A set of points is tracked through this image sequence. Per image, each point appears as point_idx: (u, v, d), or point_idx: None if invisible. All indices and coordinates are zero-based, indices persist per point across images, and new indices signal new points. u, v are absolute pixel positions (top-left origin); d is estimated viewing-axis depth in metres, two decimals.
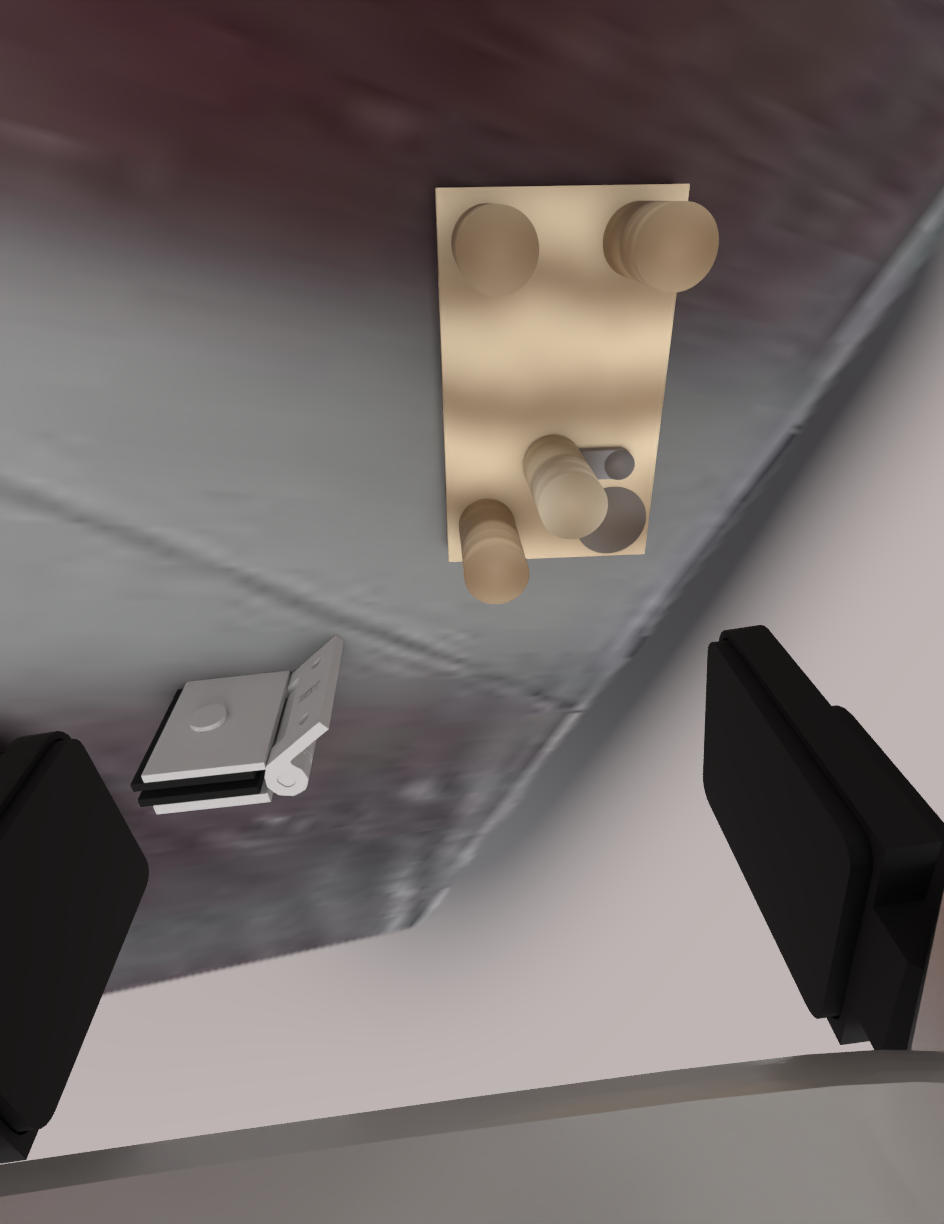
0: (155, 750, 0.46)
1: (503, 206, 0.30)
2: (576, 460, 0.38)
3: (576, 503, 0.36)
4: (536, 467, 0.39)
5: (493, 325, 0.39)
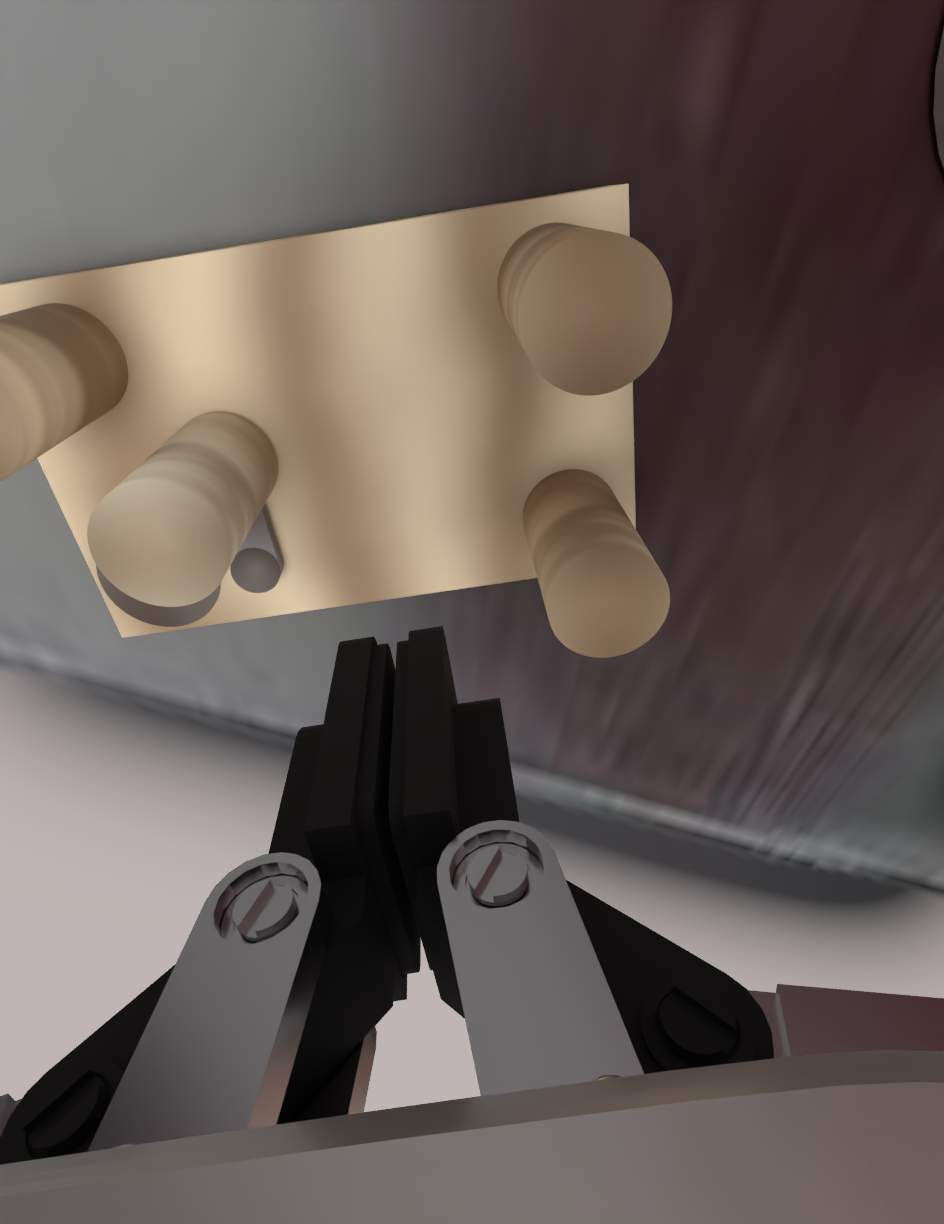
0: None
1: (668, 316, 0.17)
2: (248, 520, 0.21)
3: (169, 551, 0.19)
4: (213, 448, 0.21)
5: (431, 319, 0.23)
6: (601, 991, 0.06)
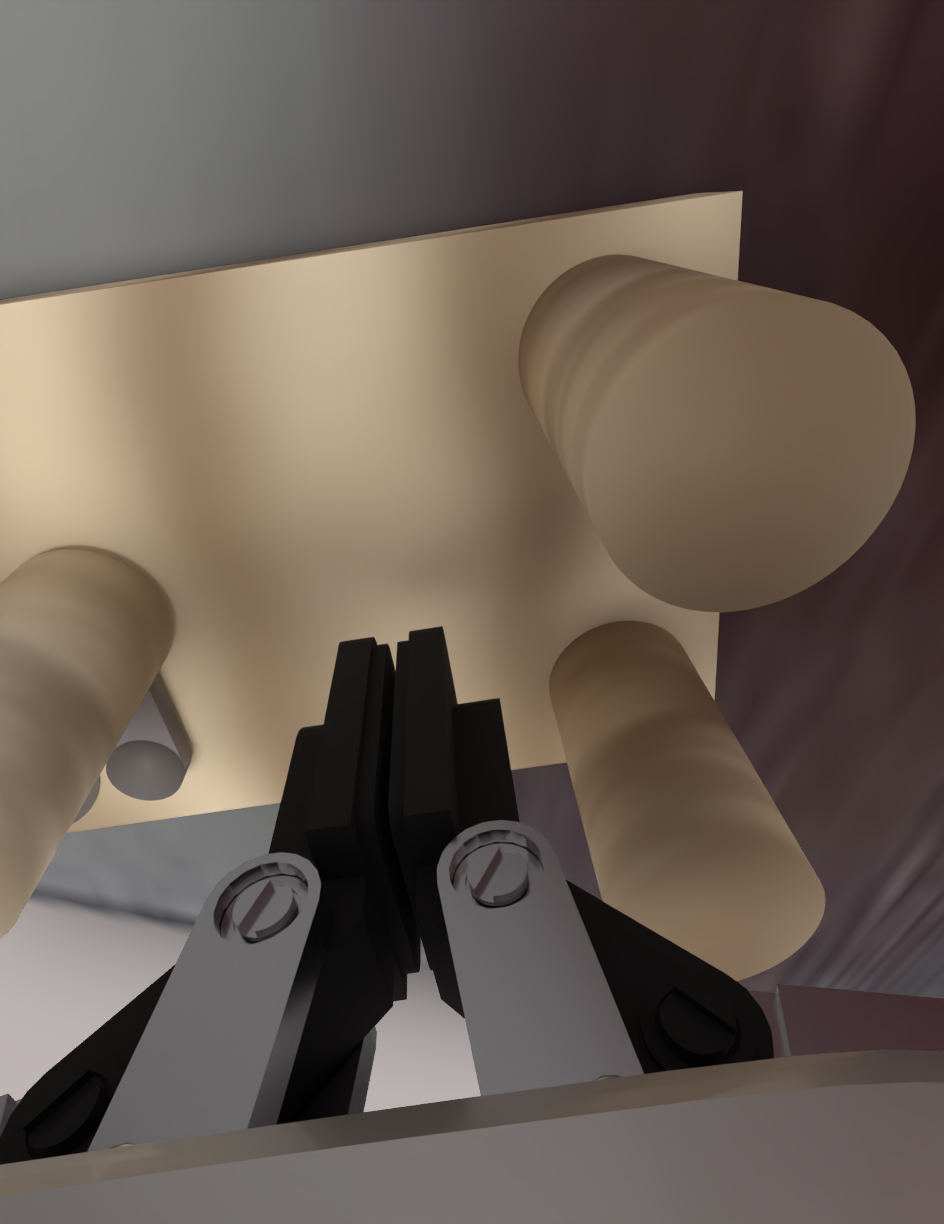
0: None
1: (902, 468, 0.08)
2: (91, 766, 0.12)
3: None
4: (31, 642, 0.12)
5: (411, 408, 0.14)
6: (601, 991, 0.06)
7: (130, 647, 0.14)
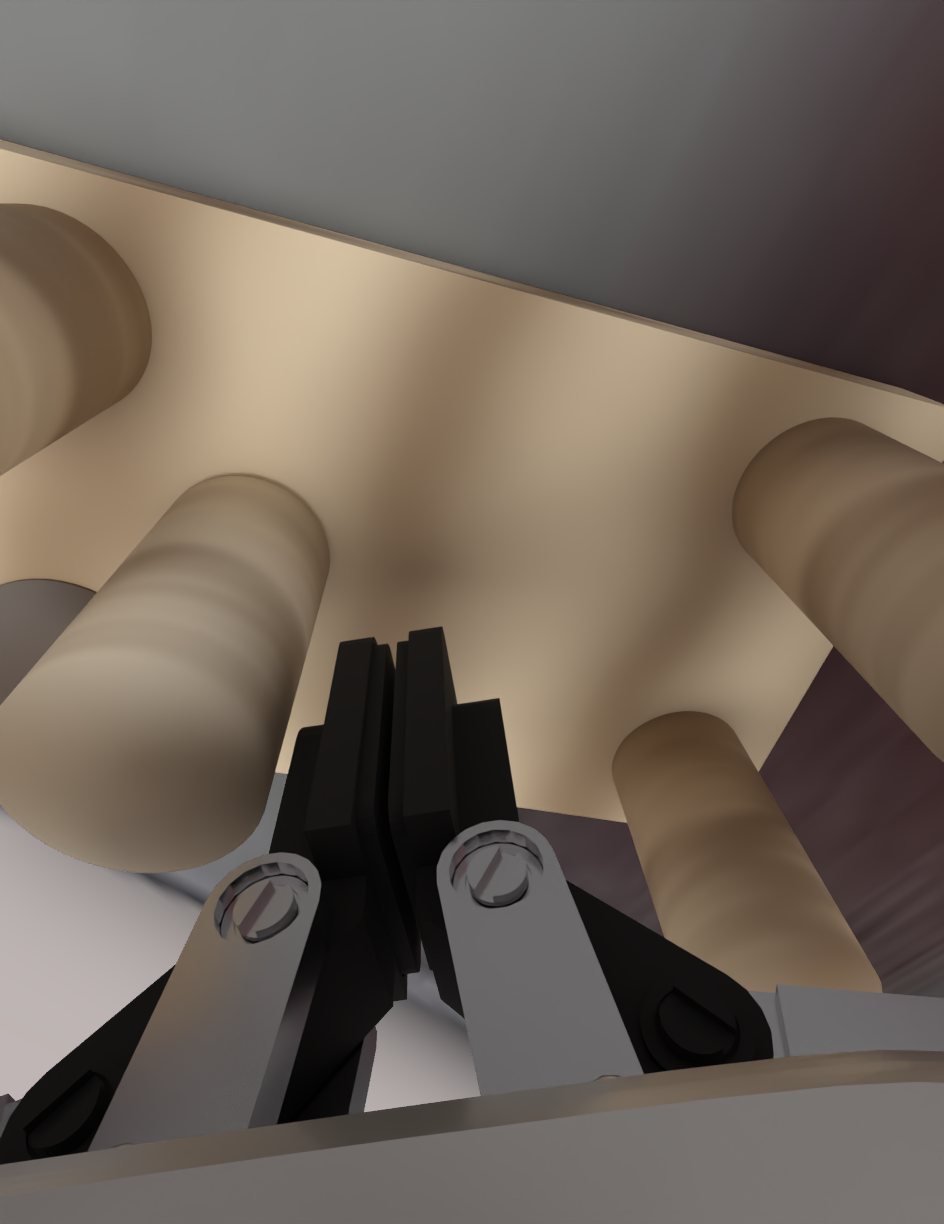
0: None
1: None
2: None
3: (149, 790, 0.09)
4: (270, 575, 0.12)
5: (638, 476, 0.15)
6: (601, 991, 0.06)
7: (317, 602, 0.14)
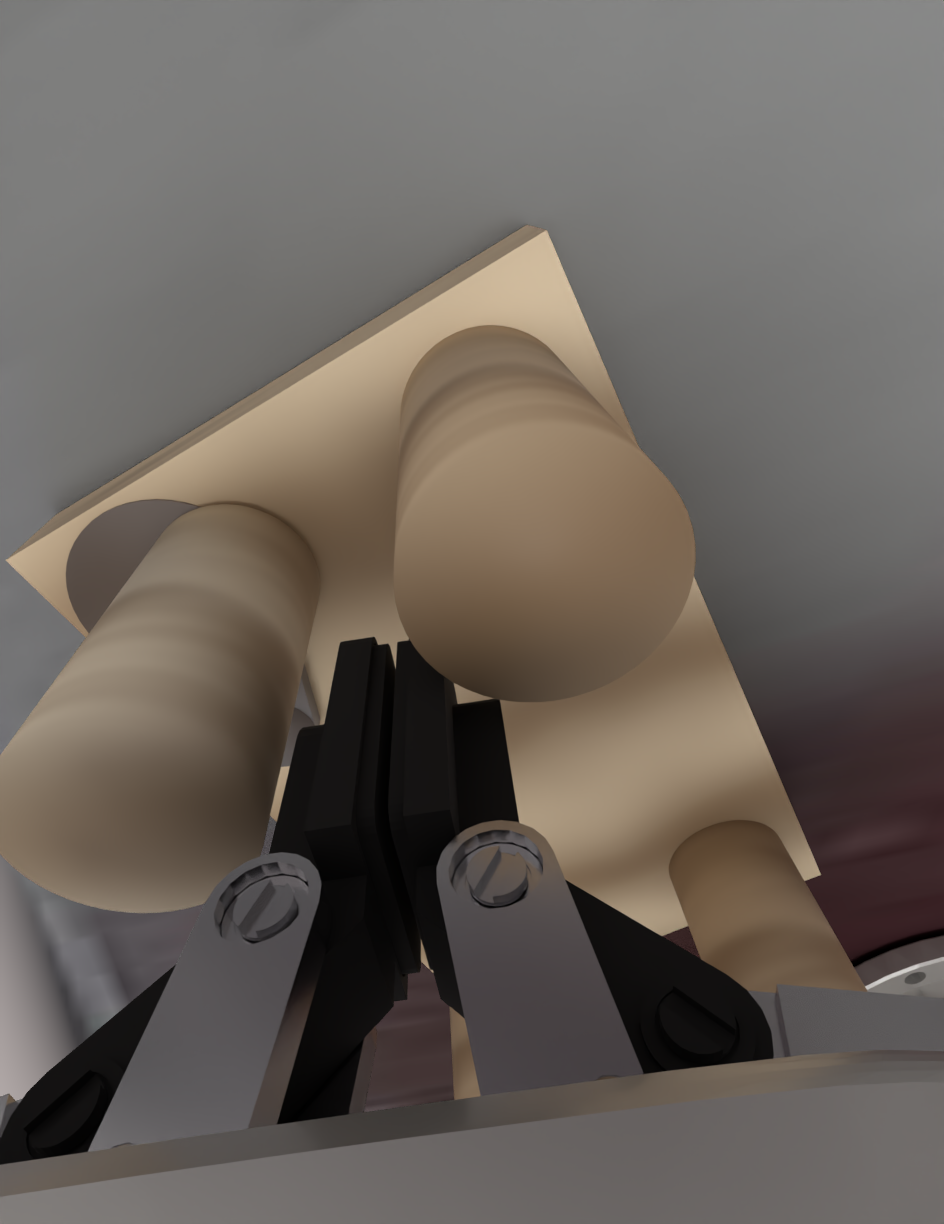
0: None
1: None
2: (290, 720, 0.12)
3: (149, 831, 0.09)
4: (228, 592, 0.12)
5: (668, 787, 0.20)
6: (601, 991, 0.06)
7: (301, 603, 0.14)
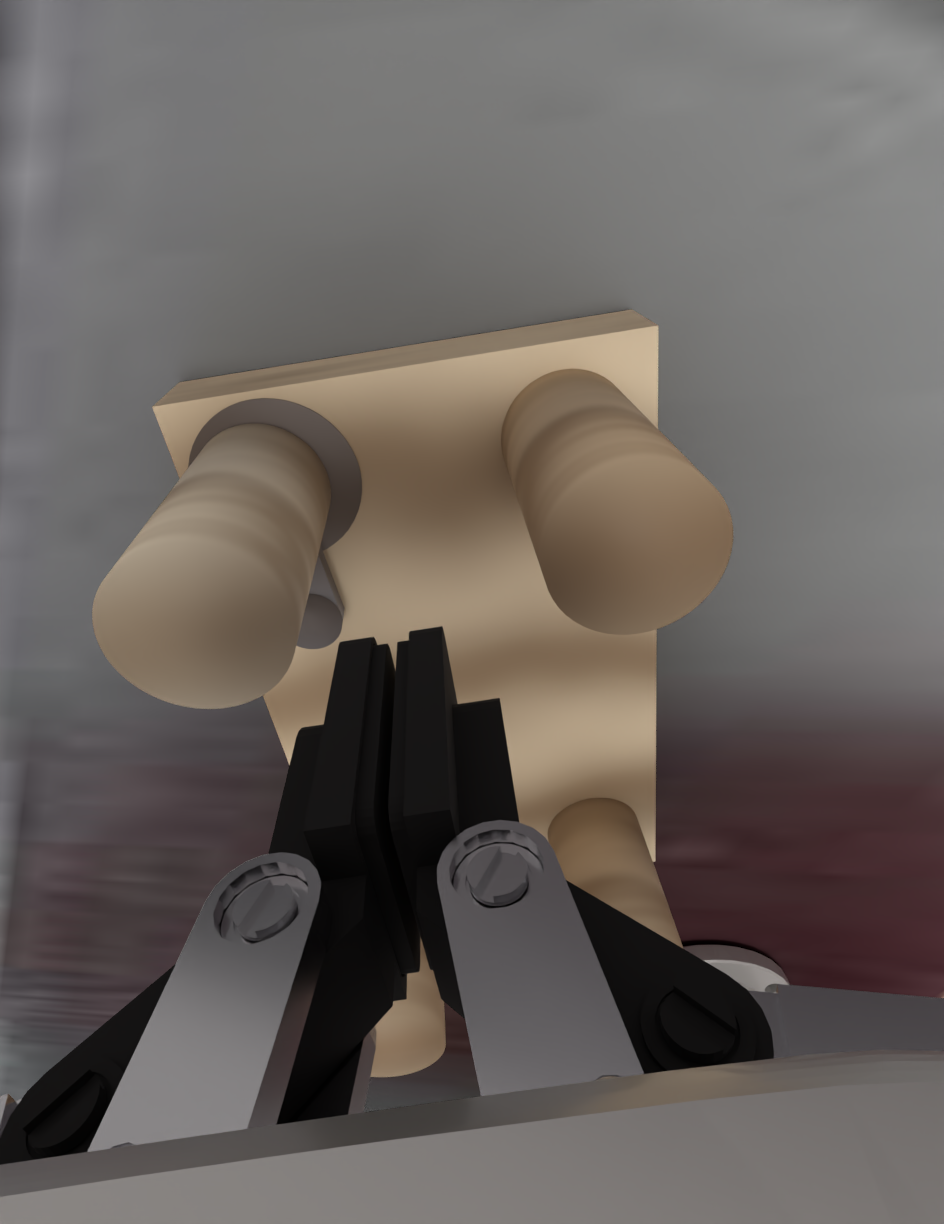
0: None
1: None
2: (311, 571, 0.15)
3: (212, 635, 0.13)
4: (254, 476, 0.15)
5: (576, 757, 0.25)
6: (601, 991, 0.06)
7: (314, 492, 0.17)
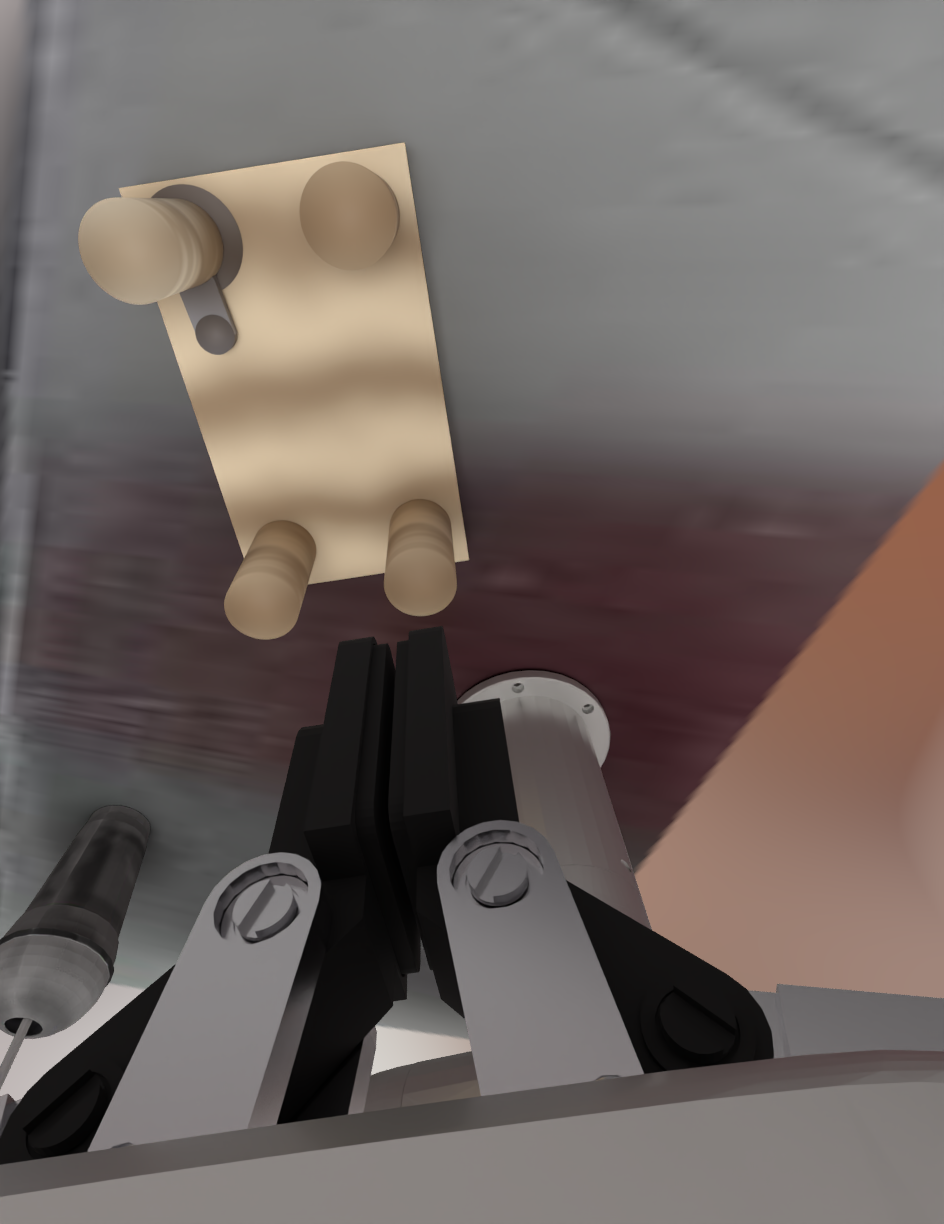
0: None
1: (422, 614, 0.36)
2: (196, 252, 0.29)
3: (136, 254, 0.26)
4: (166, 201, 0.29)
5: (400, 462, 0.39)
6: (602, 991, 0.06)
7: (205, 228, 0.30)
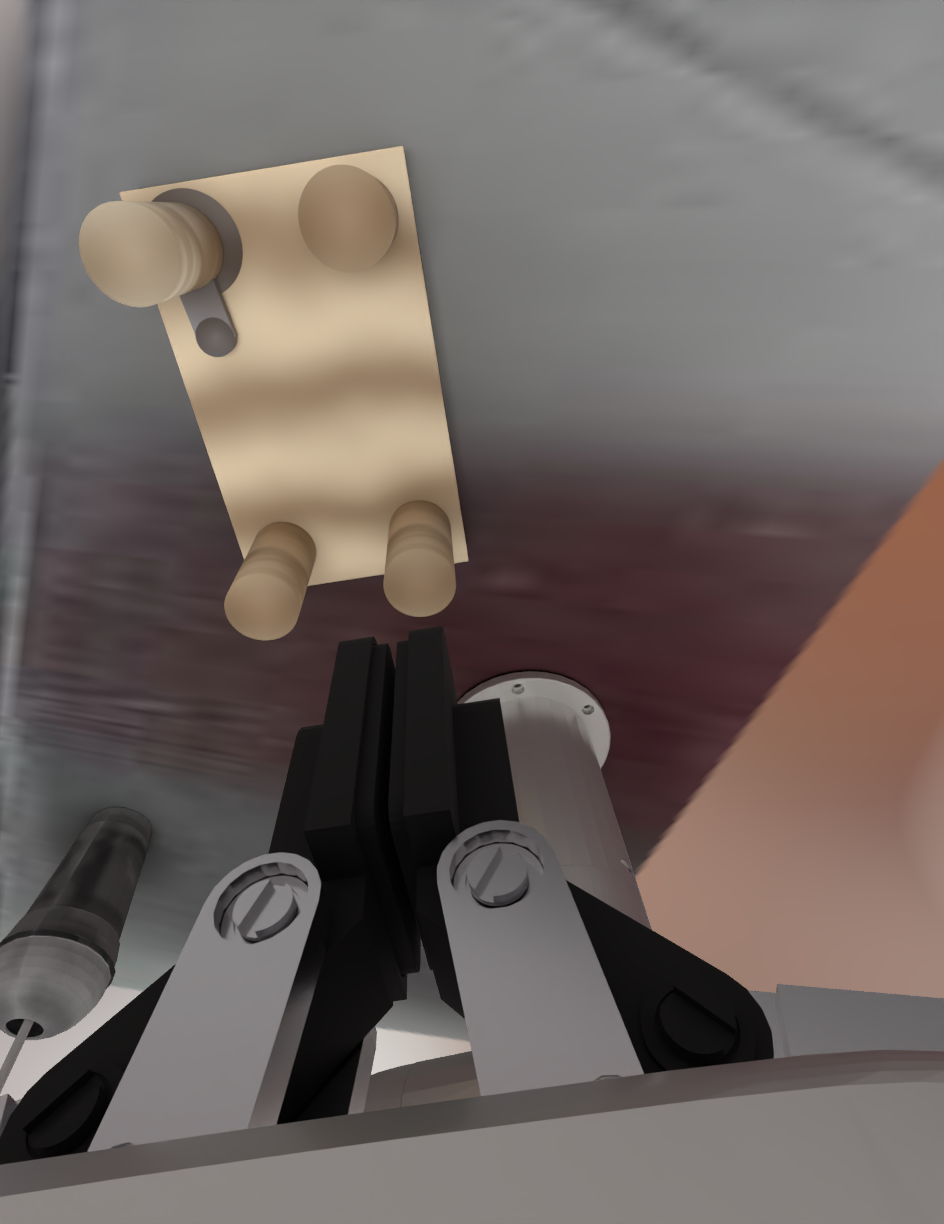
0: None
1: (421, 615, 0.36)
2: (195, 255, 0.29)
3: (137, 257, 0.27)
4: (166, 205, 0.29)
5: (399, 464, 0.39)
6: (601, 991, 0.06)
7: (205, 231, 0.31)
